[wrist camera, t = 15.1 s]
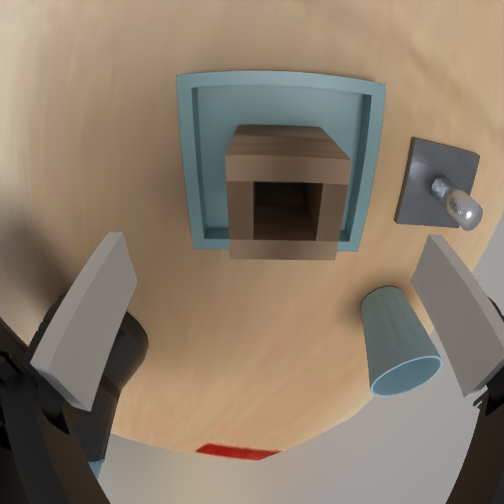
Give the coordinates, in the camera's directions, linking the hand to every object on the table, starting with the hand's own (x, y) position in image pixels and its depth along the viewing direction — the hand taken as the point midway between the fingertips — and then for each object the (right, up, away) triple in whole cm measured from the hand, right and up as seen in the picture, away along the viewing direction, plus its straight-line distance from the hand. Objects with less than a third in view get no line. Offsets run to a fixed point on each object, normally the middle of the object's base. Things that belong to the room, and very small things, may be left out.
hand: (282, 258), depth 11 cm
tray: (+1, +7, +10) cm, 12 cm away
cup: (+14, -6, +19) cm, 24 cm away
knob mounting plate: (+16, +6, +10) cm, 20 cm away
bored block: (+1, +7, +9) cm, 12 cm away
